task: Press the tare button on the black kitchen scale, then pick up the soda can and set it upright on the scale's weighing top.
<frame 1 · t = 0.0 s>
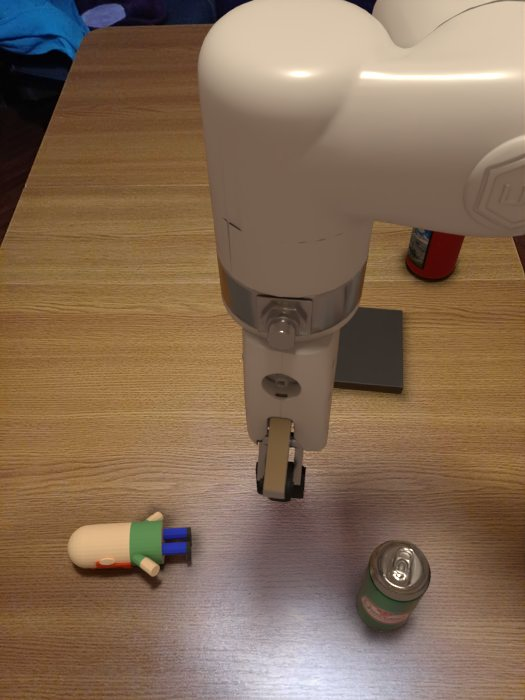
hand: (287, 431, 45), 22 cm above the table, tool pointing down, fingers open, 9 cm apart
soda can: (381, 605, 59), on the table
tare button: (312, 306, 77), point 4 cm above the table, slide at 0.1 cm
scale: (345, 348, 78), on the table
beverage can: (429, 266, 86), on the table
toy figurine: (136, 549, 63), on the table
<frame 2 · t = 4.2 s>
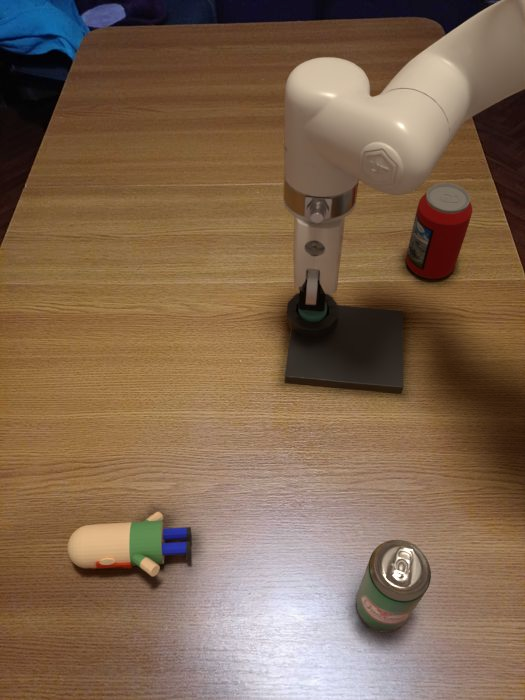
hand: (311, 305, 77), 4 cm above the table, tool pointing down, fingers closed
tare button: (312, 310, 78), point 3 cm above the table, slide at -0.7 cm, touching gripper
everything else where it was.
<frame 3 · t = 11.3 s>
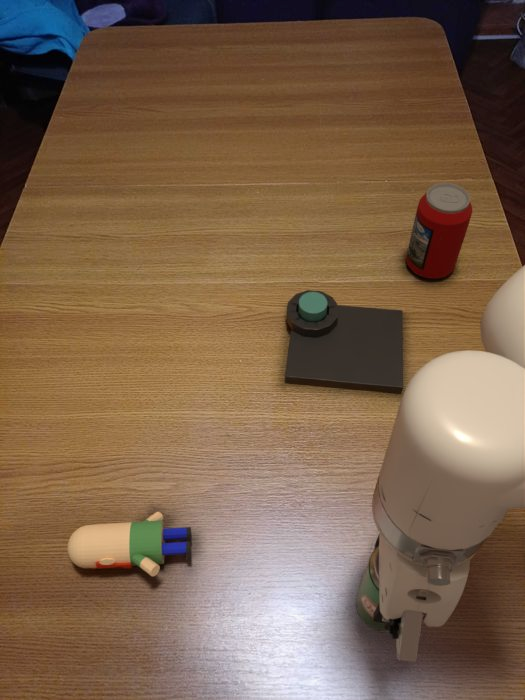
hand: (392, 584, 54), 7 cm above the table, tool pointing down, fingers closed on soda can, 5 cm apart
soda can: (381, 605, 59), on the table, touching gripper
tare button: (312, 306, 77), point 3 cm above the table, slide at 0.1 cm
everything else where it was.
when the fingers open (8 cm above the table, at t = 19.3 s): soda can stays where it is, resting on scale.
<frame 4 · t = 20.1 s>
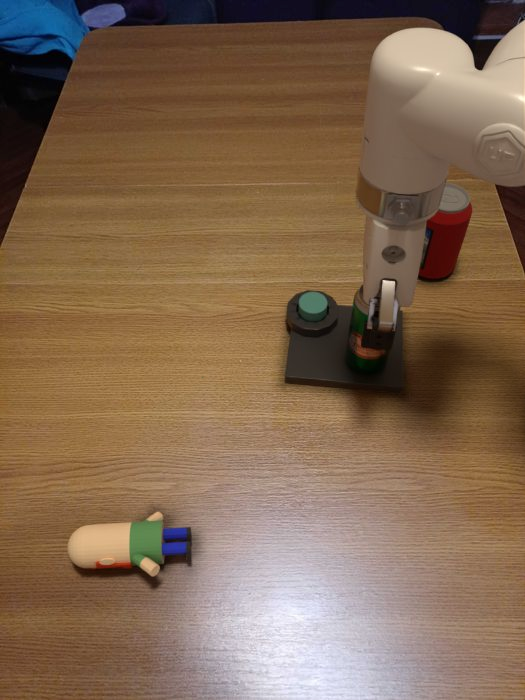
hand: (376, 311, 67), 11 cm above the table, tool pointing down, fingers open, 9 cm apart
soda can: (365, 361, 75), point 1 cm above the table, touching scale
everything else where it was.
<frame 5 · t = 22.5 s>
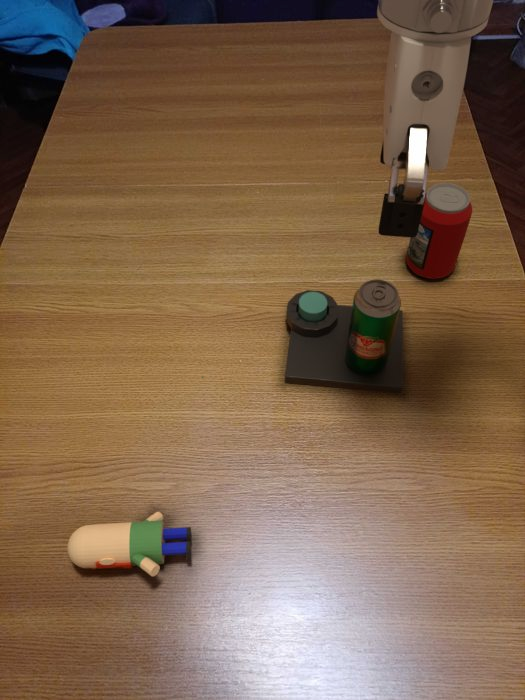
hand: (397, 196, 55), 26 cm above the table, tool pointing down, fingers open, 9 cm apart
nothing on the table moved.
at the end: tare button pushed in 0.9 cm at the most during the clip, back to where it started at the end; soda can touching scale; soda can inside the target area on the scale (3.5 cm from its centre), point 1.2 cm above the scale's base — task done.
